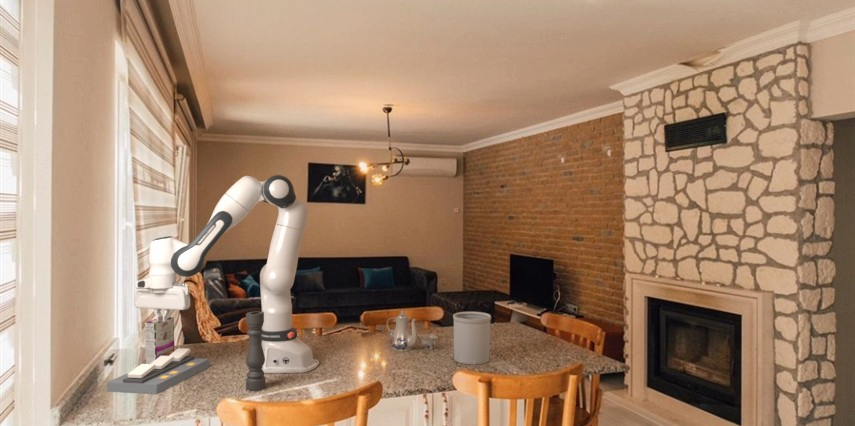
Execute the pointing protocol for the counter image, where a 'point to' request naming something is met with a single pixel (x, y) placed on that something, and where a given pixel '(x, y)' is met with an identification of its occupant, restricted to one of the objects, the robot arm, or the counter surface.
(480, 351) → the utensil holder
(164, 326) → the candy bar box
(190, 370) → the switch board
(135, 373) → the switch
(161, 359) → the switch
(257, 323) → the candle holder
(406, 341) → the chinaware
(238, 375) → the counter surface
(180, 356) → the switch
